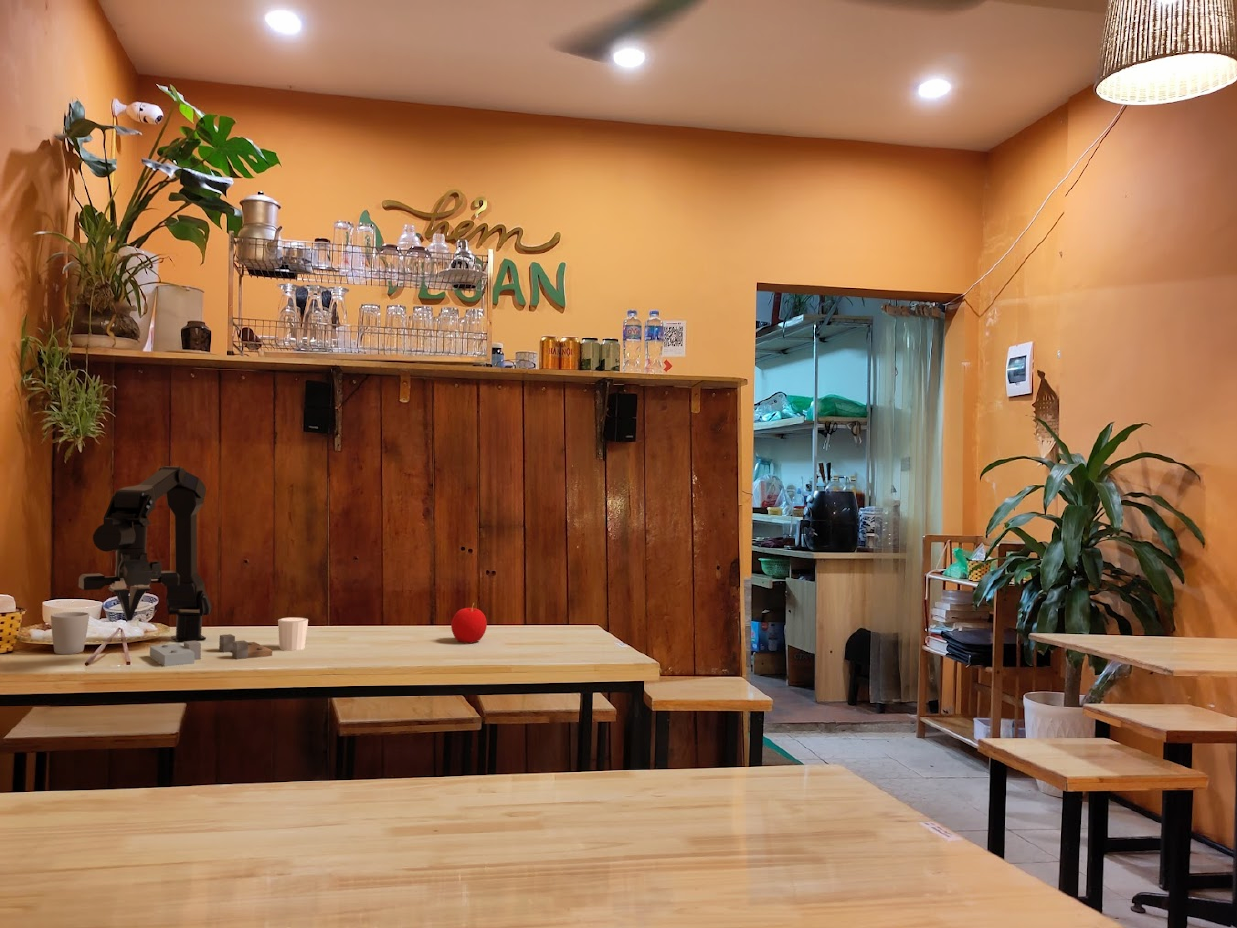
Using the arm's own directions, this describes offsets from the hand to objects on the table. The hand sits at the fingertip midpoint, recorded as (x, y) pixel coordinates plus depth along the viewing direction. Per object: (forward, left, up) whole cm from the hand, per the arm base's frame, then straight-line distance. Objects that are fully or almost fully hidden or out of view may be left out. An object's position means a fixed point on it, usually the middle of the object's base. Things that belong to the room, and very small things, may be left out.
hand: (128, 620), depth 203 cm
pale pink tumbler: (0, +36, -10) cm, 37 cm away
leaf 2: (0, +25, -10) cm, 27 cm away
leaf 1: (0, +10, -10) cm, 14 cm away
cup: (-21, -7, -10) cm, 24 cm away
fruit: (+13, +77, -10) cm, 79 cm away
